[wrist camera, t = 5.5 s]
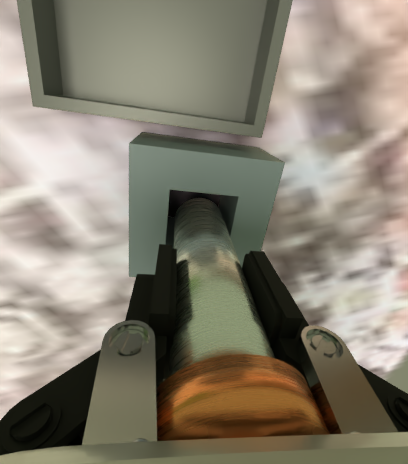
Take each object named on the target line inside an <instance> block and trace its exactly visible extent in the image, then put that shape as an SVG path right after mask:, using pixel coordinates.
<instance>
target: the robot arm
mask: <svg viewBox="0 0 408 464" xmlns="http://www.w3.org/2000/svg"><path fill="white" fill-rule="evenodd" d="M242 270H243V273H244V276H245V278H246V281H247V284H248V286H249V289H250V292H251V294H252V297H253V300H254V302H255V305H256V308H257V311H258V313H259V316H260V319H261V321H262V324H263V327H264V329H265V332H266V335H267V337H268V340H269V343H270V345H271V348H272V351H273V353H274V356H275V359H279V360H281V361H284V362H286V363H288V364H290V365H291V366H293V367H295V368H296V369H297V370H298V371H299V372H300V373H301V374H302V375H303V376H304V378H305V380H306V382H307V384H308V386H309V388H310V391H311V393H312V395H313V397H314V399H315V402H316V404H317V406H318V408H319V410H320V413H321V415H322V417H323V419H324V421H325V424H326V426H327V428H328V430H329V432H330V434H329V435H301V436H273V437H246V438H220V439H197V440H173V441H157V411H156V388H157V387H158V386H159V384H160V383H162V382H163V381H164V380H165V379H166V378H168V377H169V361H170V348H171V345H172V343H173V339H174V330H175V321H176V289H177V249H174V248H172V245H165V244H159V249H158V256H157V263H156V270H155V275H153V274H137V276H136V280H135V284H134V288H133V292H132V296H131V300H130V304H129V308H128V312H127V316H126V320H125V321H123V322H120V323H118V324H116V325H114V326H113V327H112V328H110V329H109V330H108V332H107V333H106V334H105V336H104V339H103V342H102V347H101V350H100V351H98V352H96V353H95V354H93V355H92V356H90V357H89V358H87V359H86V360H84V361H82V362H81V363H79V364H78V365H76V366H75V367H73V368H72V369H70V370H68V371H67V372H65V373H64V374H62V375H61V376H59V377H57V378H56V379H54V380H53V381H51V382H50V383H48V384H47V385H45V386H43V387H42V388H40V389H39V390H37V391H36V392H34V393H33V394H31V395H29V396H28V397H26V398H25V399H23V400H22V401H20V402H19V403H18V404H16V405H15V406H14V407H13V408H11V409H10V410H9V411H8V412H7V414H6V415H5V416H4V417H3V418H2V419H1V420H0V464H408V394H407V393H405V392H403V391H402V390H400V389H398V388H397V387H395V386H393V385H392V384H390V383H388V382H387V381H385V380H383V379H382V378H380V377H378V376H377V375H375V374H373V373H372V372H370V371H368V370H367V369H365V368H363V367H362V366H360V365H358V364H357V362H356V361H355V359H354V357H353V356H352V354H351V353H350V351H349V349H348V348H347V346H346V344H345V343H344V342H343V340H342V339H341V338H340V337H338V336H337V335H336V334H335V333H333V332H332V331H330V330H328V329H326V328H323V327H320V326H316V325H315V326H309V325H308V323H307V321H306V320H305V318H304V316H303V315H302V313H301V311H300V310H299V308H298V306H297V305H296V303H295V301H294V300H293V298H292V296H291V295H290V293H289V291H288V290H287V288H286V286H285V285H284V283H283V282H281V280H280V278H279V276H278V275H277V273H276V271H275V270H274V268H273V266H272V265H271V263H270V261H269V260H268V258H267V256H266V255H265V253H264V252H262V251H250V252H249V254H245V256H244V261H243V265H242Z"/></svg>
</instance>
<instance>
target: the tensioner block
mask: <svg viewBox="0 0 408 464" xmlns="http://www.w3.org/2000/svg"><path fill="white" fill-rule="evenodd" d="M284 164H285V163H284V162H283V161H281V160H279V159H277V158H276V157H274V156H272V155H271V154H269V153H267V152H265V151H264V150H262V149H260V148H258V147H251V146H243V145H236V144H228V143H221V142H213V141H206V140H198V139H190V138H183V137H175V136H168V135H160V134H153V133H145V132H142V133H141V134H140V135H138V136H137V137H136V138H135V139H134V140H133V141H131V142H130V143H129V277H136V276H137V274H153V275H155V270H156V263H157V256H158V249H159V244H165V245H172V248H174V224H175V217H168V211H169V198H170V190H179V191H189V192H199V193H209V194H219V195H220V201H219V207H218V208H219V210H220V212H221V214H222V217H223V220H224V222H225V225H226V228H227V230H228V233H229V236H230V238H231V241H232V244H233V246H234V249H235V252H236V254H237V257H238V260H239V262H240V265H241V268H242V265H243V261H244V256H245V254H249V252H250V251H261V248H262V244H263V240H264V237H265V233H266V230H267V226H268V222H269V219H270V215H271V211H272V208H273V204H274V201H275V197H276V193H277V190H278V186H279V182H280V179H281V175H282V172H283V168H284Z"/></svg>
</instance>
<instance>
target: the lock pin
mask: <svg viewBox="0 0 408 464" xmlns="http://www.w3.org/2000/svg"><path fill="white" fill-rule="evenodd" d="M174 249H177V289H176V321H175V330H174V339H173V343H172V345H171V348H170V361H169V377H168V378H166V379H165V380H164V381H163V382H162V383H160V384H159V386H158V387H157V388H156V411H157V441H173V440H197V439H220V438H246V437H273V436H301V435H329V434H330V432H329V430H328V428H327V426H326V424H325V421H324V419H323V417H322V415H321V413H320V410H319V408H318V406H317V404H316V402H315V399H314V397H313V395H312V393H311V391H310V388H309V386H308V384H307V382H306V380H305V378H304V376H303V375H302V374H301V373H300V372H299V371H298V370H297V369H296V368H295V367H293V366H291V365H290V364H288V363H286V362H284V361H281V360H279V359H275V356H274V353H273V351H272V348H271V345H270V343H269V340H268V337H267V335H266V332H265V329H264V327H263V324H262V321H261V319H260V316H259V313H258V311H257V308H256V305H255V302H254V300H253V297H252V294H251V292H250V289H249V286H248V284H247V281H246V278H245V276H244V273H243V270H242V268H241V265H240V262H239V260H238V257H237V254H236V252H235V249H234V246H233V244H232V241H231V238H230V236H229V233H228V230H227V228H226V225H225V222H224V220H223V217H222V214H221V212H220V210H219V208H218V206H217V205H216V204H215V203H213V202H212V201H210V200H208V199H204V198H194V199H190V200H188V201H186V202H184V203H183V204H182V205H181V206H180V207H179V208H178V210H177V212H176V215H175V224H174Z"/></svg>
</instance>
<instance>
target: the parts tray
mask: <svg viewBox="0 0 408 464" xmlns="http://www.w3.org/2000/svg"><path fill="white" fill-rule="evenodd" d="M292 1H293V0H17V5H18V12H19V18H20V25H21V31H22V38H23V44H24V51H25V57H26V64H27V70H28V77H29V84H30V90H31V97H32V103H33V106H35V107H42V108H49V109H56V110H64V111H71V112H78V113H85V114H93V115H100V116H107V117H114V118H122V119H129V120H136V121H143V122H151V123H158V124H165V125H172V126H180V127H187V128H194V129H201V130H209V131H216V132H223V133H230V134H238V135H245V136H252V137H259V138H262V134H263V129H264V125H265V121H266V116H267V112H268V107H269V103H270V98H271V94H272V89H273V85H274V81H275V76H276V72H277V67H278V63H279V58H280V54H281V49H282V45H283V41H284V36H285V32H286V27H287V23H288V18H289V14H290V9H291V5H292Z"/></svg>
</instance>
